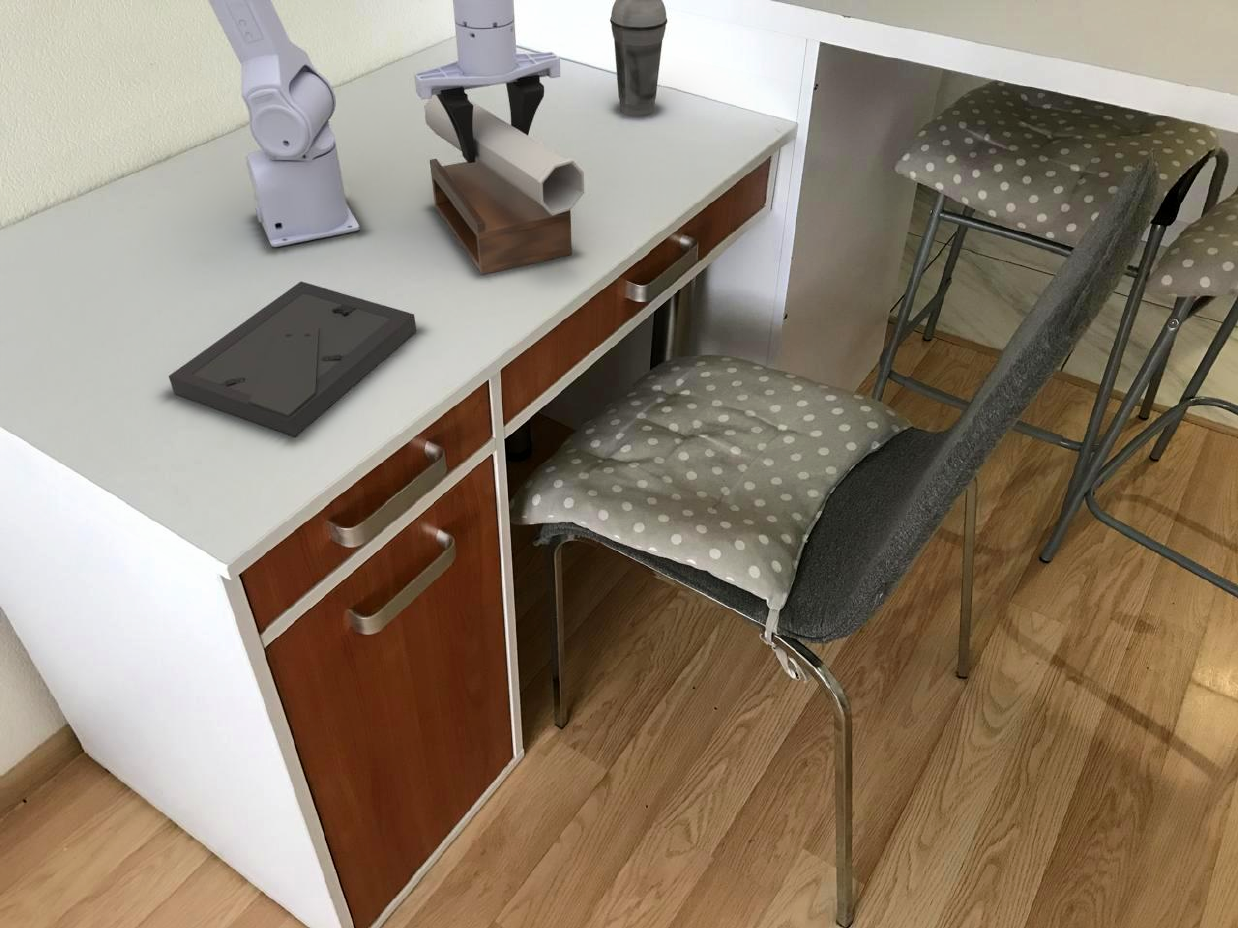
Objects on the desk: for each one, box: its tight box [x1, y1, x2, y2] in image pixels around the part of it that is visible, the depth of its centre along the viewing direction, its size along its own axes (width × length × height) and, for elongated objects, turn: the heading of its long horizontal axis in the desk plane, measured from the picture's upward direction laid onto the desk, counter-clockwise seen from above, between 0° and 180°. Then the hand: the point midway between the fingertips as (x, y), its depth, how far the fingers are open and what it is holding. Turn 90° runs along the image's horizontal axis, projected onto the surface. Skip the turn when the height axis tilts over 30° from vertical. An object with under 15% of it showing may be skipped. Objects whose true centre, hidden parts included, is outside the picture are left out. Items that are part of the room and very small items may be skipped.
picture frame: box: [168, 281, 417, 438], centre depth 95 cm, size 13×2×18 cm
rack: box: [429, 158, 573, 275], centre depth 113 cm, size 10×16×6 cm, turn 25°
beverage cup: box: [609, 0, 668, 117], centre depth 134 cm, size 7×7×20 cm
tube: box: [424, 95, 585, 216], centre depth 109 cm, size 5×5×25 cm
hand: (494, 154), depth 109 cm, fingers closed on tube, 5 cm apart
